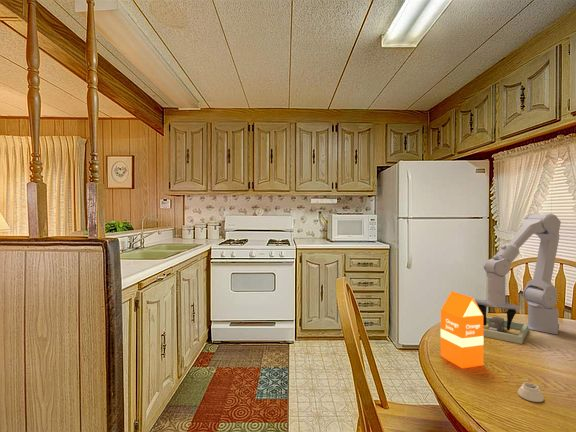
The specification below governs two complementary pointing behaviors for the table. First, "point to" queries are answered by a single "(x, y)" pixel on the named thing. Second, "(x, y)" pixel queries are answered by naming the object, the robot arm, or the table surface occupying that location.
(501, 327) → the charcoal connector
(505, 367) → the table surface
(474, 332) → the orange juice
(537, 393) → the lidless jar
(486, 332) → the sage frame
